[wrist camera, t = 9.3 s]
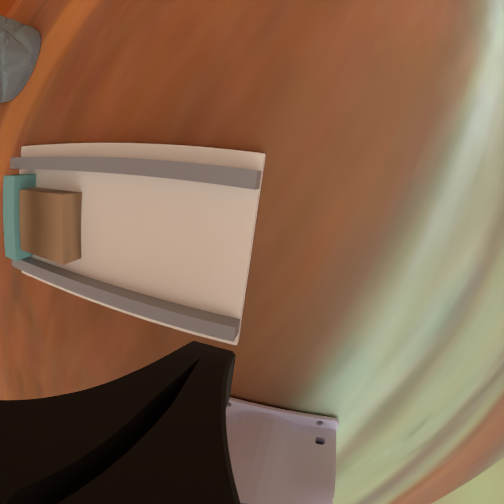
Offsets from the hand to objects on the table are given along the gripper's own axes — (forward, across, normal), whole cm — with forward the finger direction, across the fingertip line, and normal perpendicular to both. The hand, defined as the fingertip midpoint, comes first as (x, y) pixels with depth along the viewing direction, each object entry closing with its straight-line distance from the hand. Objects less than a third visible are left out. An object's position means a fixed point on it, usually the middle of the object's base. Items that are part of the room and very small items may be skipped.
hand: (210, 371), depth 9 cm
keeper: (+9, +17, -1) cm, 19 cm away
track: (+10, +12, -1) cm, 16 cm away
